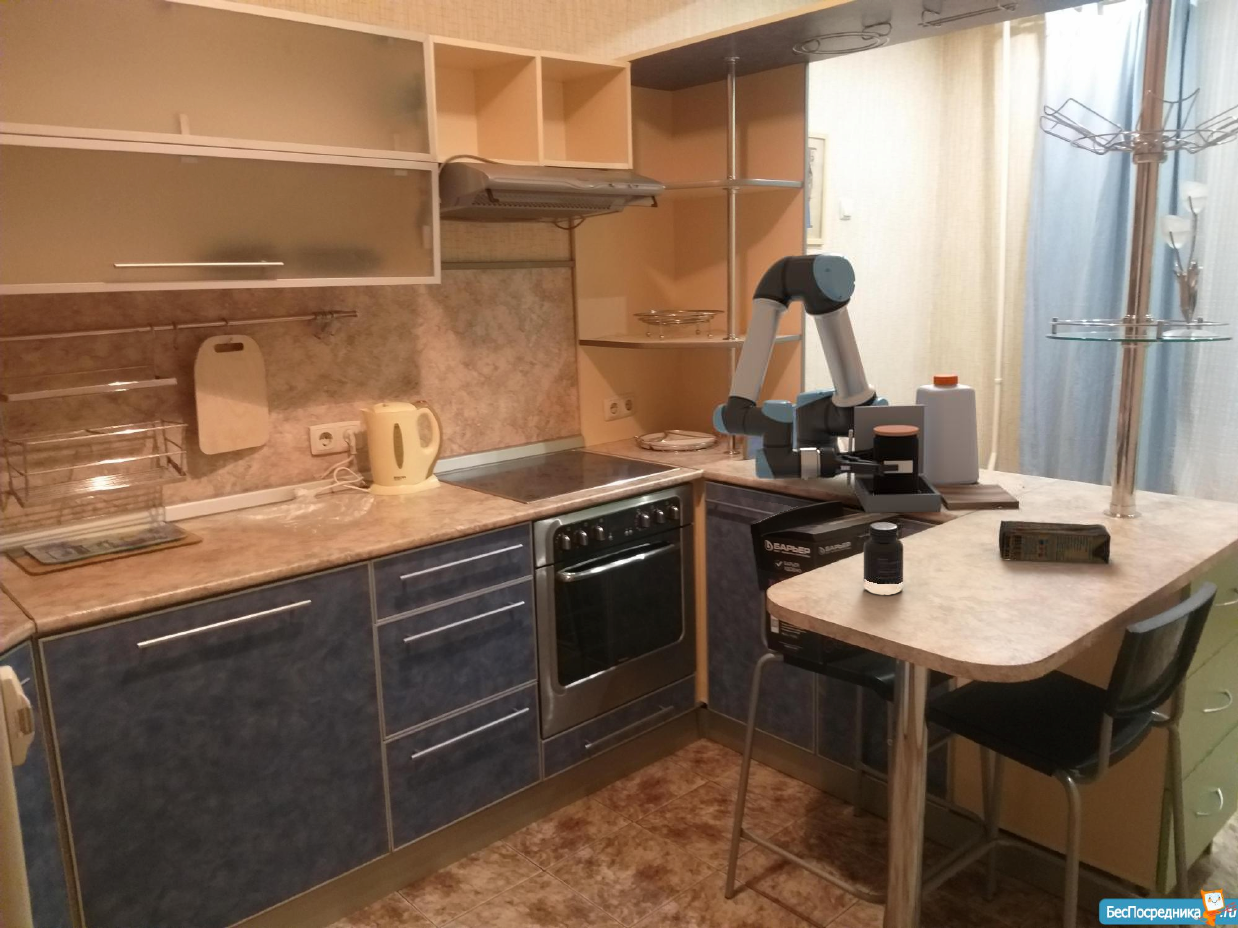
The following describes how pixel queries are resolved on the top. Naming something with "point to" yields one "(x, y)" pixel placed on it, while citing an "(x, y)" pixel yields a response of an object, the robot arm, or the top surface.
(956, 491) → the walnut board
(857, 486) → the equipment case
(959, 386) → the plastic bottle
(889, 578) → the supplement bottle
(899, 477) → the coffee jar
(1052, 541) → the beverage carton
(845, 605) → the top surface
